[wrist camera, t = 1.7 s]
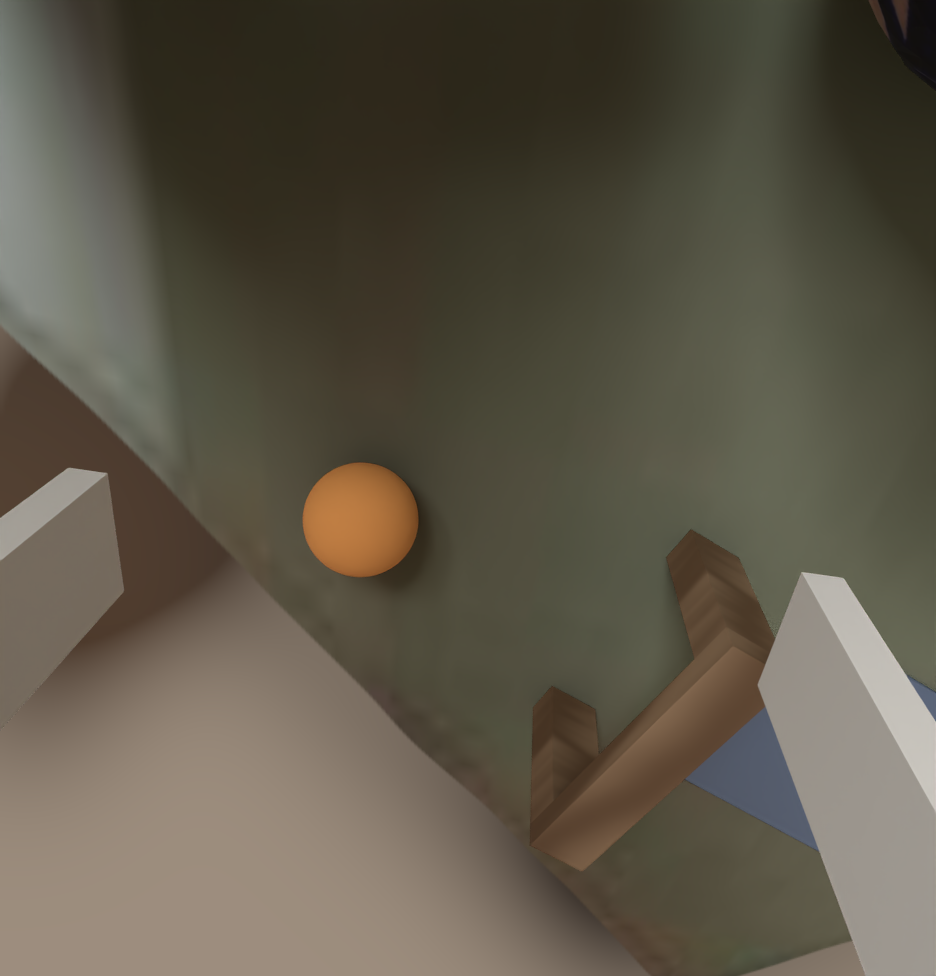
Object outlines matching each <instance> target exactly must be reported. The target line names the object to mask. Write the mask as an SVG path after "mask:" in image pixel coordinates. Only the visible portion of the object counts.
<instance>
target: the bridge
mask: <svg viewBox="0 0 936 976" xmlns="http://www.w3.org/2000/svg"><path fill="white" fill-rule="evenodd" d="M666 558H667V562H668V566H669V569H670V573H671V576H672V580H673V583H674V587H675V591H676V594H677V598H678V601H679V605H680V609H681V612H682V616H683V619H684V623H685V627H686V630H687V634H688V637H689V641H690V644H691V648H692V652H693V655H694V660H693V661H692V662H691V663H690V664H689V665H688V666H687V667H686V668H685V669H684V670H683V671H682V672H681V673H680V674H679V675H678V676H677V677H676V678H675V679H674V680H673V681H672V682H671V683H670V684H669V685H668V686H667V687H666V688H665V689H664V690H663V691H662V692H661V693H660V694H659V695H658V696H657V697H656V698H655V699H654V700H653V701H652V702H651V703H650V704H649V705H648V706H647V707H646V708H645V709H644V710H643V711H642V712H641V713H640V714H639V715H638V716H637V717H636V718H635V719H634V720H633V721H632V722H631V723H630V724H629V725H628V726H627V727H626V728H625V729H624V730H623V731H622V732H621V733H620V734H619V735H618V736H617V737H616V738H615V739H614V740H613V741H612V742H611V743H610V744H609V745H608V746H607V747H606V748H605V749H604V750H603V751H602V752H601V753H600V754H599V749H598V737H597V725H596V713H595V709H594V708H592V707H590V706H588V705H586V704H585V703H583V702H581V701H579V700H577V699H575V698H573V697H572V696H570V695H568V694H566V693H564V692H562V691H561V690H559V689H557V688H555V687H553V686H552V687H551V688H550V689H549V690H548V691H547V692H546V693H545V695H544V696H543V697H542V698H541V699H540V700H539V701H538V702H537V704H536V705H535V706H534V707H533V733H532V776H531V818H530V846H532V847H534V848H536V849H538V850H540V851H542V852H544V853H546V854H548V855H550V856H552V857H554V858H556V859H558V860H560V861H562V862H564V863H566V864H568V865H570V866H572V867H574V868H576V869H578V870H580V871H584V870H585V869H586V868H587V867H588V866H589V865H590V864H591V863H592V862H594V861H595V860H596V859H597V858H598V857H599V856H600V855H601V854H602V853H604V852H605V851H606V850H607V849H608V848H609V847H610V846H611V845H612V844H614V843H615V842H616V841H617V840H618V839H619V838H620V837H621V836H622V835H623V834H625V833H626V832H627V831H628V830H629V829H630V828H631V827H632V826H633V825H635V824H636V823H637V822H638V821H639V820H640V819H641V818H642V817H643V816H645V815H646V814H647V813H648V812H649V811H650V810H651V809H652V808H653V807H655V806H656V805H657V804H658V803H659V802H660V801H661V800H662V799H663V798H665V797H666V796H667V795H668V794H669V793H670V792H671V791H672V790H673V789H674V788H676V787H677V786H678V785H679V784H680V783H681V782H682V781H683V780H684V779H686V778H687V777H688V776H689V775H690V774H691V773H692V772H693V771H694V770H696V769H697V768H698V767H699V766H700V765H701V764H702V763H703V762H704V761H706V760H707V759H708V758H709V757H710V756H711V755H712V754H713V753H714V752H716V751H717V750H718V749H719V748H720V747H721V746H722V745H723V744H724V743H726V742H727V741H728V740H729V739H730V738H731V737H732V736H733V735H734V734H735V733H737V732H738V731H739V730H740V729H741V728H742V727H743V726H744V725H745V724H747V723H748V722H749V721H750V720H751V719H752V718H753V717H754V716H755V715H757V714H758V713H759V712H760V711H761V710H762V709H763V708H764V707H765V704H764V701H763V698H762V696H761V693H760V690H759V687H758V682H759V680H760V677H761V675H762V672H763V670H764V667H765V664H766V662H767V659H768V657H769V654H770V652H771V649H772V646H773V644H774V641H775V638H774V636H773V634H772V631H771V629H770V627H769V625H768V622H767V620H766V618H765V616H764V613H763V611H762V609H761V607H760V604H759V602H758V600H757V598H756V596H755V593H754V591H753V589H752V587H751V584H750V582H749V580H748V578H747V575H746V573H745V571H744V569H743V566H742V564H741V562H740V560H739V558H738V557H736V556H735V555H733V554H731V553H730V552H728V551H726V550H725V549H723V548H721V547H720V546H718V545H716V544H715V543H713V542H711V541H710V540H708V539H706V538H705V537H703V536H701V535H700V534H698V533H696V532H695V531H693V530H690V531H689V532H688V533H687V535H686V536H685V537H684V538H683V539H682V540H681V541H680V542H679V544H678V545H677V546H676V547H675V548H674V549H673V550H672V551H671V553H670V554H669V555H668V556H667V557H666Z"/></svg>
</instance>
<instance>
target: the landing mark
mask: <svg viewBox="0 0 936 976" xmlns="http://www.w3.org/2000/svg"><path fill="white" fill-rule="evenodd" d="M905 675H906V674H905ZM906 676H907V678H908V679H909V681H910V682H911V684H912V685H913V687H914V689H915V690H916V692H917V693H918V695H919V696H920V698H921V699H922V701H923V703H924V704H925V706H926V707H927V709H928V710H929V712H930V713H931V715H932V717H933V718H934V720H935V721H936V692H935V691H933V690H931V689H930V688H928V687H926V686H925V685H923V684H921V683H920V682H918V681H916V680H915V679H913V678H911V677H910V676H908V675H906ZM685 780H687V781H689V782H690V783H692V784H694V785H696V786H698V787H700V788H702V789H703V790H705V791H707V792H709V793H711V794H713V795H715V796H717V797H718V798H720V799H722V800H724V801H726V802H728V803H730V804H731V805H733V806H735V807H737V808H739V809H741V810H743V811H744V812H746V813H748V814H750V815H752V816H754V817H756V818H758V819H759V820H761V821H763V822H765V823H767V824H769V825H771V826H772V827H774V828H776V829H778V830H780V831H782V832H784V833H785V834H787V835H789V836H791V837H793V838H795V839H797V840H799V841H800V842H802V843H804V844H806V845H808V846H810V847H812V848H813V849H815V850H817V851H819V849H818V846H817V844H816V841H815V838H814V836H813V833H812V830H811V828H810V825H809V822H808V819H807V817H806V814H805V811H804V809H803V806H802V803H801V801H800V798H799V795H798V793H797V790H796V787H795V784H794V782H793V779H792V776H791V774H790V771H789V768H788V766H787V763H786V760H785V758H784V755H783V752H782V749H781V747H780V744H779V741H778V739H777V736H776V733H775V731H774V728H773V725H772V722H771V720H770V717H769V714H768V712H767V709H766V706H765V707H764V708H763V709H762V710H761V711H760V712H759V713H758V714H757V715H755V716H754V717H753V718H752V719H751V720H750V721H749V722H748V723H747V724H745V725H744V726H743V727H742V728H741V729H740V730H739V731H738V732H737V733H735V734H734V735H733V736H732V737H731V738H730V739H729V740H728V741H727V742H726V743H724V744H723V745H722V746H721V747H720V748H719V749H718V750H717V751H716V752H714V753H713V754H712V755H711V756H710V757H709V758H708V759H707V760H706V761H704V762H703V763H702V764H701V765H700V766H699V767H698V768H697V769H696V770H694V771H693V772H692V773H691V774H690V775H689V776H688V777H687V778H686V779H685Z"/></svg>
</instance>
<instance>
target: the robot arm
mask: <svg viewBox="0 0 936 976" xmlns="http://www.w3.org/2000/svg"><path fill="white" fill-rule="evenodd" d="M123 592H124V587H123V580H122V573H121V566H120V559H119V552H118V544H117V537H116V530H115V523H114V516H113V510H112V502H111V495H110V488H109V481H108V474H107V473H101V472H94V471H88V470H81V469H74V468H68V469H66V470H65V471H63V472H62V473H61V474H59V475H58V476H57V477H55V478H54V479H53V480H51V481H50V482H49V483H47V484H46V485H44V486H43V487H42V488H40V489H39V490H38V491H36V492H35V493H34V494H32V495H31V496H30V497H28V498H27V499H25V500H24V501H23V502H21V503H20V504H19V505H17V506H16V507H15V508H13V509H12V510H11V511H9V512H8V513H7V514H5V515H4V516H3V517H1V518H0V730H1V729H2V728H3V727H4V726H5V725H6V724H7V723H8V721H9V720H10V719H11V718H12V717H13V716H14V715H15V713H16V712H17V711H18V710H19V709H20V708H21V707H22V706H23V705H24V703H25V702H26V701H27V700H28V699H29V698H30V697H31V696H32V694H33V693H34V692H35V691H36V690H37V689H38V687H39V686H40V685H41V684H42V683H43V682H44V681H45V680H46V679H47V677H48V676H49V675H50V674H51V673H52V672H53V671H54V670H55V668H56V667H57V666H58V665H59V664H60V663H61V662H62V661H63V659H64V658H65V657H66V656H67V655H68V654H69V653H70V652H71V650H72V649H73V648H74V647H75V645H77V644H78V642H79V641H80V640H81V639H82V638H83V637H84V636H85V634H86V633H87V632H88V631H89V630H90V629H91V628H92V627H93V626H94V624H95V623H96V622H97V621H98V620H99V619H100V618H101V617H102V615H103V614H104V613H105V612H106V611H107V610H108V609H109V608H110V606H111V605H112V604H113V603H114V602H115V601H116V600H117V598H118V597H119V596H120V595H121V594H122V593H123ZM758 687H759V690H760V693H761V696H762V698H763V701H764V704H765V706H766V709H767V712H768V714H769V717H770V720H771V722H772V725H773V728H774V731H775V733H776V736H777V739H778V741H779V744H780V747H781V749H782V752H783V755H784V758H785V760H786V763H787V766H788V768H789V771H790V774H791V776H792V779H793V782H794V784H795V787H796V790H797V793H798V795H799V798H800V801H801V803H802V806H803V809H804V811H805V814H806V817H807V819H808V822H809V825H810V828H811V830H812V833H813V836H814V838H815V841H816V844H817V846H818V849H819V852H820V855H821V857H822V860H823V863H824V865H825V868H826V871H827V873H828V876H829V879H830V881H831V884H832V887H833V890H834V892H835V895H836V898H837V900H838V903H839V906H840V908H841V911H842V914H843V916H844V919H845V922H846V925H847V927H848V930H849V933H850V935H851V938H852V941H853V943H854V946H855V949H856V951H857V954H858V957H859V960H860V962H861V965H862V968H863V970H864V973H865V976H936V721H935V720H934V718H933V717H932V715H931V713H930V712H929V710H928V709H927V707H926V706H925V704H924V703H923V701H922V699H921V698H920V696H919V695H918V693H917V692H916V690H915V689H914V687H913V685H912V684H911V682H910V681H909V679H908V678H907V676H906V675H905V673H904V671H903V670H902V668H901V667H900V665H899V664H898V662H897V661H896V659H895V657H894V656H893V654H892V653H891V651H890V650H889V648H888V647H887V645H886V643H885V642H884V640H883V639H882V637H881V636H880V634H879V633H878V631H877V629H876V628H875V626H874V625H873V623H872V622H871V620H870V619H869V617H868V615H867V614H866V612H865V611H864V609H863V608H862V606H861V605H860V603H859V601H858V600H857V598H856V597H855V595H854V594H853V592H852V591H851V589H850V587H849V586H848V584H847V583H846V581H845V580H844V578H840V577H833V576H826V575H819V574H812V573H805V572H801V575H800V577H799V580H798V582H797V585H796V587H795V590H794V593H793V595H792V598H791V600H790V603H789V605H788V608H787V610H786V613H785V616H784V618H783V621H782V623H781V626H780V628H779V631H778V634H777V636H776V639H775V641H774V644H773V646H772V649H771V652H770V654H769V657H768V659H767V662H766V664H765V667H764V670H763V672H762V675H761V677H760V680H759V682H758Z"/></svg>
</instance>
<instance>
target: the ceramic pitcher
mask: <svg viewBox="0 0 936 976" xmlns="http://www.w3.org/2000/svg"><path fill="white" fill-rule="evenodd" d="M868 1H869V3H870V5H871V7H872V10H873V12H874V14H875V16H876V19H877V21H878V23H879V24H880V26H881V28H882V29H883V31H884V33H885V34H886V36H887V37H888V39H889V41H890V42H891V44H892V45H893V47H894V49H895V50H896V51H897V53H898V54H899V56H900V57H901V58H902V60H903V62H904V64H905V65H906V66H907V67H908V68H909V69H910V70H911V71H912V72H913V73H915V74H916V75H917V76H918V77H919V78H921V79H922V80H923V81H924V82H926V83H927V84H928V85H929V86H930V87H932V88H933V89H934V90H935V91H936V0H868Z"/></svg>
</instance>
